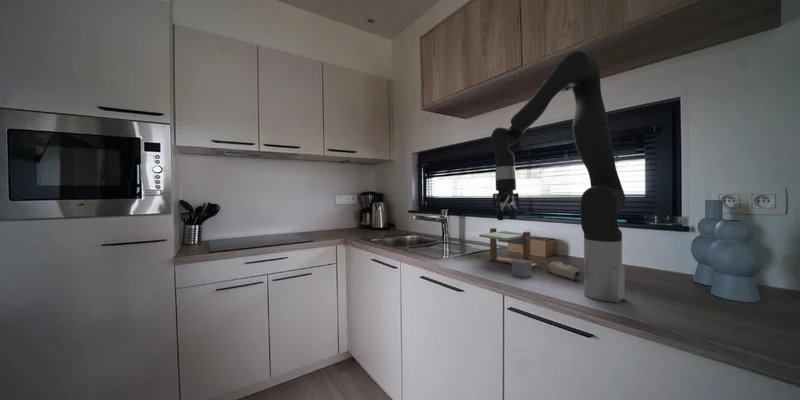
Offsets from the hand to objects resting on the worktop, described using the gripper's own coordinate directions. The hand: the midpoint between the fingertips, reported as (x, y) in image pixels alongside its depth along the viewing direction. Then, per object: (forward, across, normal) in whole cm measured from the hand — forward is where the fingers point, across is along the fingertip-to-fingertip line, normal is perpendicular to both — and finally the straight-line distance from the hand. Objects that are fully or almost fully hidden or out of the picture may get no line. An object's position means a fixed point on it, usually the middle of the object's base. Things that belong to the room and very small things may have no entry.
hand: (506, 219), depth 111 cm
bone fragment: (+22, +14, -15) cm, 30 cm away
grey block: (+21, +1, -5) cm, 22 cm away
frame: (+21, +15, +8) cm, 27 cm away
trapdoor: (+12, +10, +8) cm, 17 cm away
